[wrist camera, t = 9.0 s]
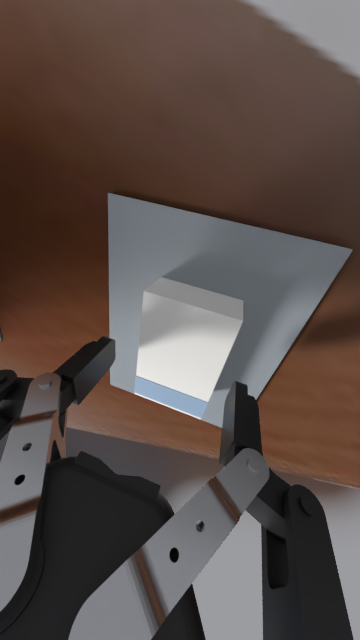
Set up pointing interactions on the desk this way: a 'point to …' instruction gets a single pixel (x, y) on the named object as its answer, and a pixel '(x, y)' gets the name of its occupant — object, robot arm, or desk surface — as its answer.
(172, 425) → the desk surface
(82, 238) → the desk surface
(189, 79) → the desk surface
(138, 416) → the desk surface
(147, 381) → the card box
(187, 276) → the mat
